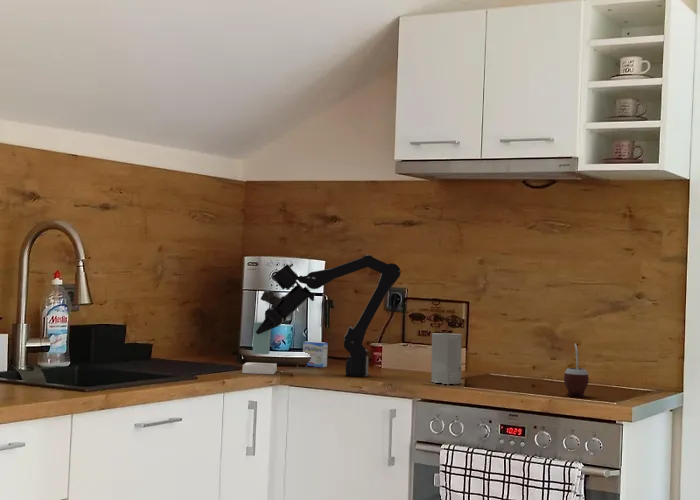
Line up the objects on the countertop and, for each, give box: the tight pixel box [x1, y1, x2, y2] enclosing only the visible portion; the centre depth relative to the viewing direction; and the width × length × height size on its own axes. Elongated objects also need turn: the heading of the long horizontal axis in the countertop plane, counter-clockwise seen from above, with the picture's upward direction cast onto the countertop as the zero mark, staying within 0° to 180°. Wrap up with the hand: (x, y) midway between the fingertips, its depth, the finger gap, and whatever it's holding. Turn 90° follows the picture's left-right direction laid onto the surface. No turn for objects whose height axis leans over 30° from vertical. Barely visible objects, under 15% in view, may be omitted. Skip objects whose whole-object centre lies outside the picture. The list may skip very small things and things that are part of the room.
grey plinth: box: [241, 362, 278, 375], centre depth 320 cm, size 10×10×2 cm
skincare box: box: [431, 332, 463, 385], centre depth 306 cm, size 8×7×16 cm
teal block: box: [252, 321, 271, 355], centre depth 320 cm, size 4×5×10 cm
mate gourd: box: [563, 343, 590, 399], centre depth 286 cm, size 8×8×15 cm
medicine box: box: [302, 340, 329, 368], centre depth 347 cm, size 8×4×9 cm, turn 73°
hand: (257, 332), depth 320 cm, fingers closed on teal block, 4 cm apart
